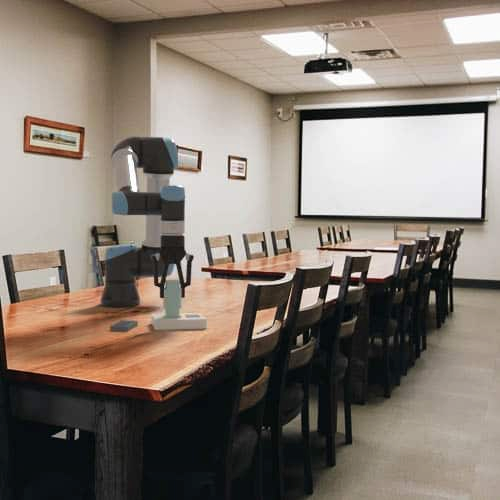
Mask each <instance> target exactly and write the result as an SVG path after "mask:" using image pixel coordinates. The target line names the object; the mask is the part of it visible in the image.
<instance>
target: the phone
mask: <svg viewBox="0 0 500 500" xmlns="http://www.w3.org/2000/svg"><path fill="white" fill-rule="evenodd" d="M138 325H139V321H138V320H123V319H121V320H118V321H117V322H115V323H113V324H111V325H109V331H110V332H129V331H131V330H133V329H134V328H136V327H138Z"/></svg>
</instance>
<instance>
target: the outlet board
mask: <svg viewBox="0 0 500 500" xmlns="http://www.w3.org/2000/svg"><path fill="white" fill-rule="evenodd" d="M150 317H151V318H150V319H151V322H150V323H151V325H152V327H153V329H154V331H165V330H166V331H167V330H168V331H169V330H170V331H171V330H173V331H174V330H175V331H176V330H200V329H201V330H202V329H207V322H208V321H207V320H208V319H207V318H206V317H205V316H204V315H203V314H202V313H201V312H194V313H193V312H192V313H191V312H190V313H189V312H188V313H187V312H186V313H185V312H184V313H180V312H179V318H165V313H152V314H151V316H150Z"/></svg>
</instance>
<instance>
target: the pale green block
mask: <svg viewBox="0 0 500 500" xmlns="http://www.w3.org/2000/svg"><path fill="white" fill-rule="evenodd" d="M180 287H181V286H180V281H179V279H175V278H174V279H171V278H169V279H166V281H165V286H164V288H166V289H167V293H166V309H164V311H165V313H164V314H165V318H179V313H180V309H179V294H180Z"/></svg>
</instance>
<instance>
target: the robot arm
mask: <svg viewBox="0 0 500 500" xmlns="http://www.w3.org/2000/svg"><path fill="white" fill-rule="evenodd" d="M110 163H111V166H112V168H113V169H114V175H115V189H116V191H113V192H112V194H111V212H112V214H113V215H118V216H146V217H145V238H144V240H143V241H141V246H140V247H138V246H137V244H136V243H126V244H123V243H122V244H117V245H111V246H108V247H107V248H106V249H105V253H104V254H105V257H104V261H105V265H104V266H105V267H104V269H105V271H104V273H105V275H104V279H105V281H104V288H103V291H102V294H101V297H100V305H101V306H103V307H111V308H113V307H114V308H123V307H124V308H126V307H136V306H139V305H141V297H140V296H141V295H140V293H139V291H138V287H137V285H136V284H137V282H136V280H137V279H136V278H153V285H154V287H157V288H159V298H160V299H162V308H163V310H165V309H166V293H167V289H166V288H165V281H166V280H167V277H169V276H171V275H172V274H173V272H174V269H175V266H176V270H177V275H178V276H177V277H178V280H179V281H180V294H179V310H181V309H182V299H185V297H186V288H187V287H189V286H191V285H192V284H191V283H192V264H193V260H194V258H195V256H194V255H193V254H189V253H187V251H186V249H185V248H186V247H185V243H186V242H185V241H186V238H185V235H184V234H185V232H186V229H185V224H186V223H185V218H186V217H185V210H186V209H185V208H186V207H185V206H186V194H185V193H186V191H185V190H186V189H185V187H184V186H183V185H171V184H170V179H171V178H172V176H173V175H174V173H175V171H174V170H177V169H178V168H179V156H178V148H177V145H176V141H175V140H174V139H173V138H171V137H170V138H169V137H162V136H161V137H159V136H130V137H126V138H125V139H123V140H121V141H119V142H118V143H117V145H115V146H114V148H113V149H112V152H111V155H110ZM137 168H138V169H142V173H143V175H144V176H145V177H146V191H140V185H139V184H140V183H139V177H138V170H137ZM184 258H185V260H186V272H185V273H186V274H185V276H186V277H185V278H184V274H183V270H182V269H183V268H182V261H183V260H184ZM159 278H160V282H159Z"/></svg>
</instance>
